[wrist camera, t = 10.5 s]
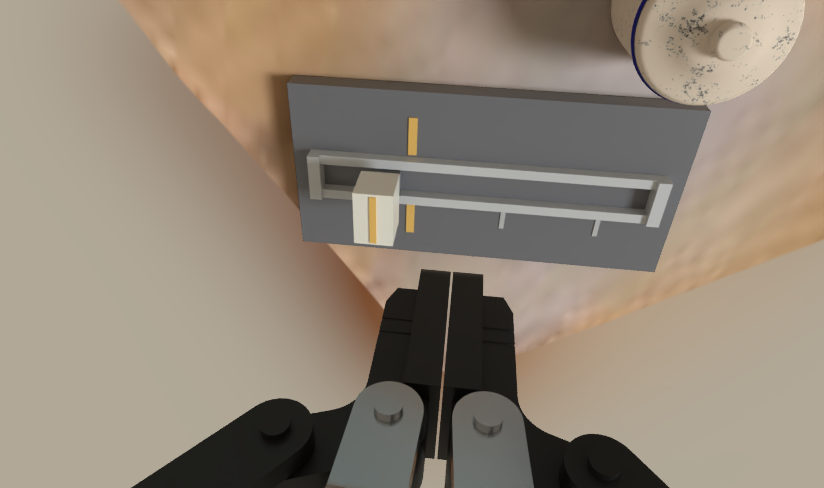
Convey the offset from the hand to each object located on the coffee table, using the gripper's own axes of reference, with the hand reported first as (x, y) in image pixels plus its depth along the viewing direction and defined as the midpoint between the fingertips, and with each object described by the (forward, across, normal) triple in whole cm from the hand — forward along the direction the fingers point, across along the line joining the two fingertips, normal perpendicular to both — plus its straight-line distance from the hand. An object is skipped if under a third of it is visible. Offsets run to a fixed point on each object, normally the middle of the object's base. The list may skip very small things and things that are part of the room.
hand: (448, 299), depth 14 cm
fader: (+31, +6, +13) cm, 34 cm away
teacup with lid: (+33, -15, -2) cm, 36 cm away
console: (+33, -2, +14) cm, 36 cm away
